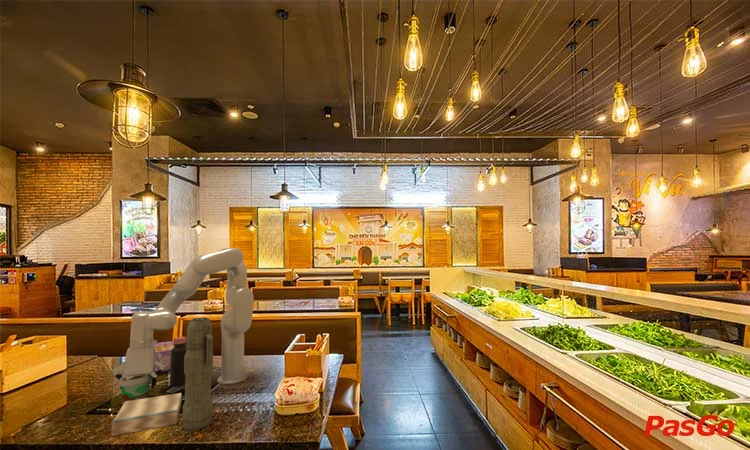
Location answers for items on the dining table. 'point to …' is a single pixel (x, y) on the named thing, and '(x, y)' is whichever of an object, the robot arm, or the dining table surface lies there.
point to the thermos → (198, 374)
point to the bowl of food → (163, 354)
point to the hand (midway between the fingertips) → (138, 389)
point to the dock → (147, 414)
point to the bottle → (178, 362)
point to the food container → (135, 387)
